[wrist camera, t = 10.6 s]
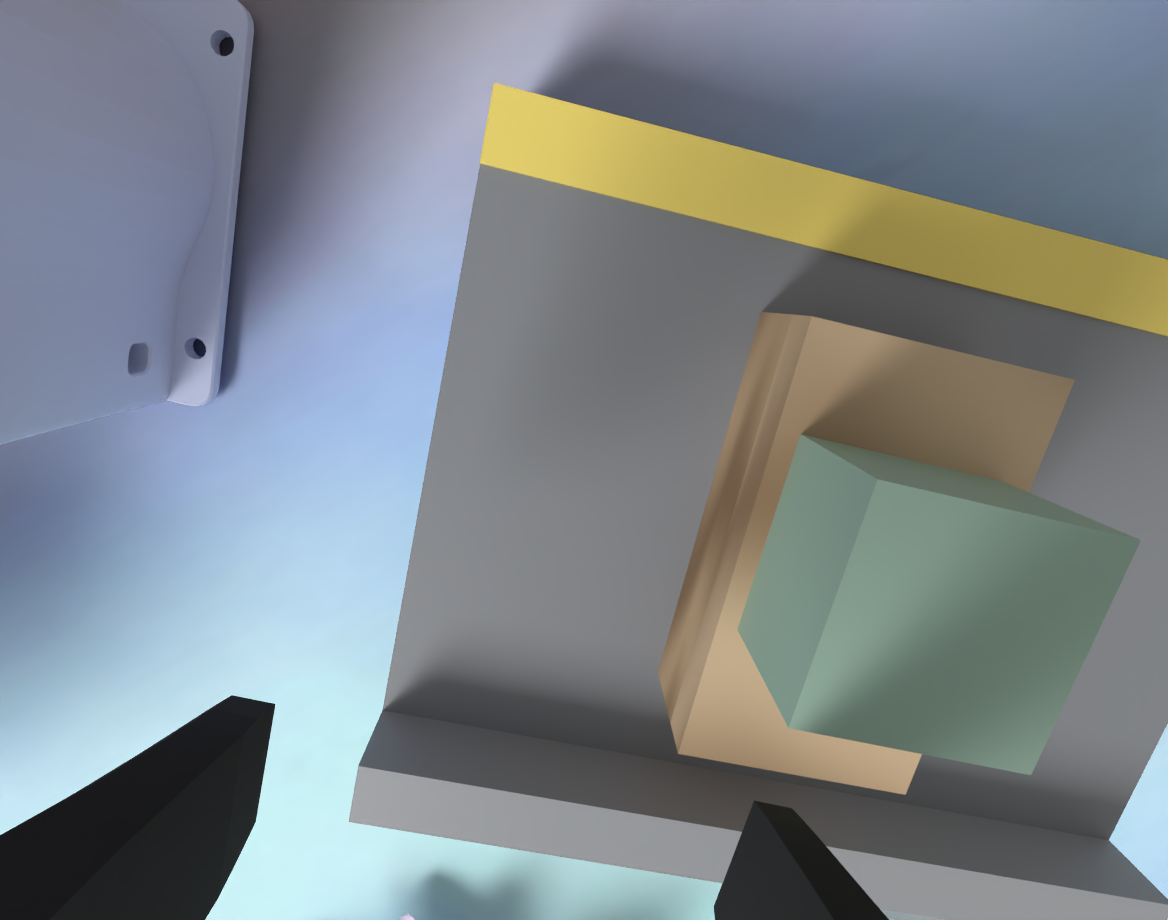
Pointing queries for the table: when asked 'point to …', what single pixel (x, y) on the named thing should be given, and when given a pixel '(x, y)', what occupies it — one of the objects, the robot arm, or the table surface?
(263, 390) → the table surface
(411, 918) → the water lily
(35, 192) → the robot arm
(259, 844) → the table surface
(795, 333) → the pallet
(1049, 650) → the green block
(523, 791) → the dock
